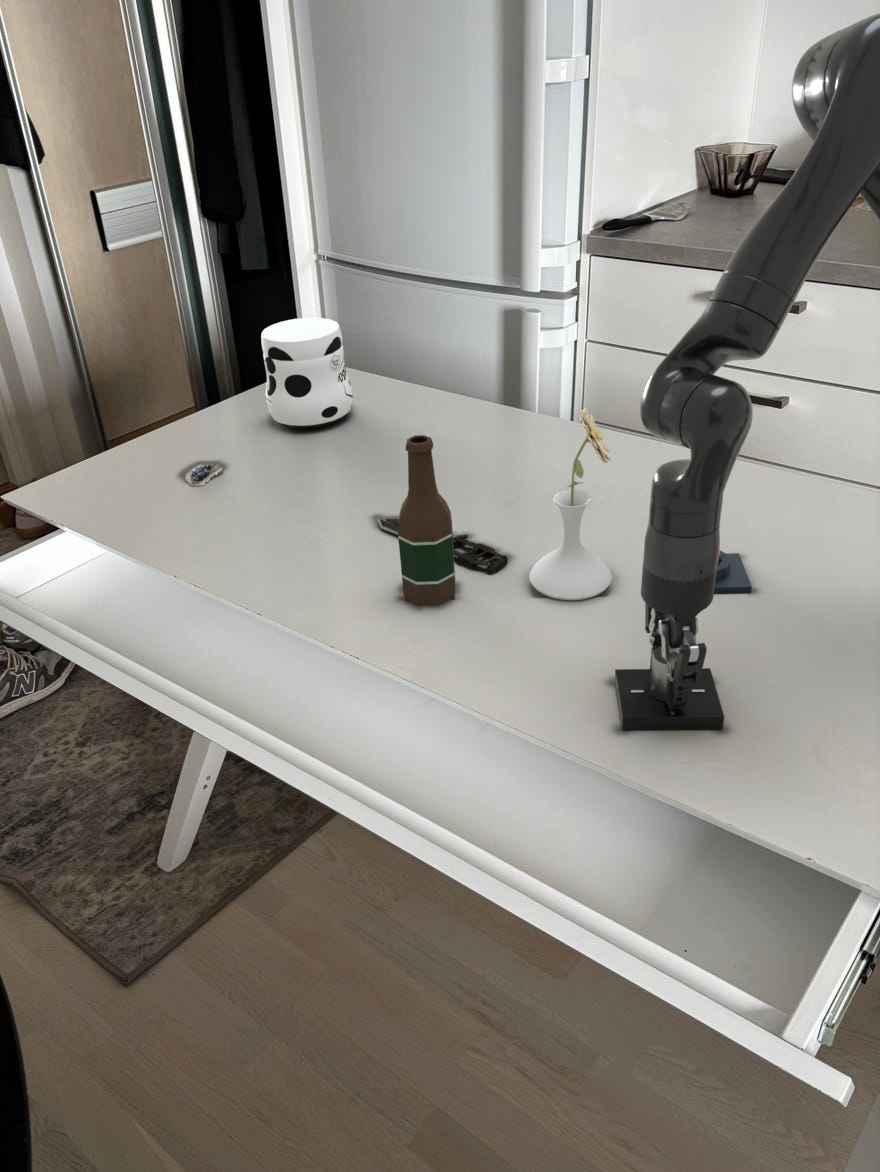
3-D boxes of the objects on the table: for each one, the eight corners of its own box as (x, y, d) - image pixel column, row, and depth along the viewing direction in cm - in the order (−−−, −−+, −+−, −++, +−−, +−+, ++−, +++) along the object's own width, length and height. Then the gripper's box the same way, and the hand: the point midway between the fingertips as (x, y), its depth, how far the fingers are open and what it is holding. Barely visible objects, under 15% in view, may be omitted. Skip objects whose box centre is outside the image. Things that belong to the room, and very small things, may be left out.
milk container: (372, 413, 198) (363, 323, 187) (309, 442, 188) (296, 349, 178) (315, 396, 208) (303, 311, 198) (252, 423, 198) (236, 334, 188)
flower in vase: (594, 615, 131) (602, 441, 117) (516, 598, 136) (514, 429, 122) (626, 569, 141) (636, 402, 126) (552, 554, 146) (554, 393, 131)
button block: (737, 563, 140) (740, 541, 138) (750, 597, 132) (753, 574, 130) (658, 565, 141) (660, 543, 139) (667, 598, 133) (669, 576, 131)
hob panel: (707, 688, 117) (710, 666, 115) (721, 737, 109) (724, 715, 108) (613, 689, 118) (615, 668, 116) (621, 737, 111) (622, 716, 109)
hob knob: (645, 683, 114) (648, 644, 111) (678, 679, 114) (682, 640, 111) (656, 704, 110) (659, 665, 107) (690, 699, 111) (695, 660, 107)
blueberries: (228, 467, 181) (226, 458, 180) (214, 486, 175) (212, 477, 174) (193, 467, 182) (191, 458, 181) (178, 486, 176) (176, 477, 175)
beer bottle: (417, 579, 143) (404, 424, 129) (466, 588, 140) (458, 430, 126) (393, 607, 137) (377, 447, 124) (444, 617, 134) (433, 454, 120)
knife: (371, 526, 158) (370, 519, 157) (401, 512, 161) (400, 504, 160) (482, 580, 141) (482, 572, 140) (513, 563, 144) (513, 555, 144)
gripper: (740, 591, 96) (721, 724, 106) (693, 524, 108) (679, 649, 118) (665, 600, 96) (653, 732, 106) (626, 531, 108) (618, 656, 118)
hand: (667, 687), depth 112 cm, fingers open, 5 cm apart
